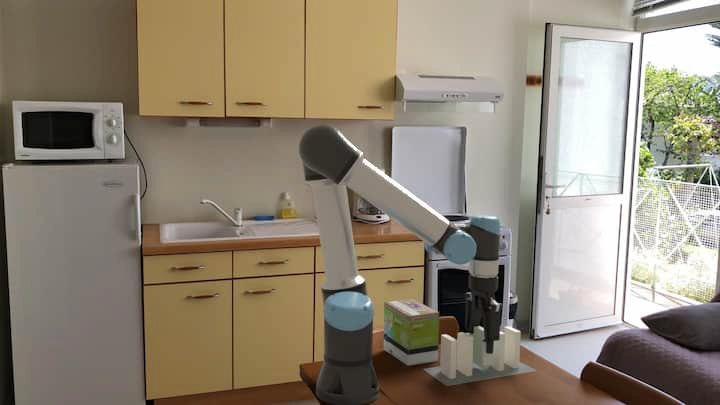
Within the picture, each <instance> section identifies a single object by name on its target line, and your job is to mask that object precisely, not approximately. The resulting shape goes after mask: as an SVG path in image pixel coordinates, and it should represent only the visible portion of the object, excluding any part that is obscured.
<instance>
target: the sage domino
mask: <svg viewBox="0 0 720 405" xmlns="http://www.w3.org/2000/svg"><path fill="white" fill-rule="evenodd" d="M484 339H485V336H484V327H482V326H481V325H480V326H474V342H473V363H474V364H476V365H478V366H479V367H481V368H483V369H487V368H489V365H485V366H483V365H482V345H483V340H484Z"/></svg>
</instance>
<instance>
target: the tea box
mask: <svg viewBox="0 0 720 405" xmlns="http://www.w3.org/2000/svg"><path fill="white" fill-rule="evenodd" d="M383 304H384V305H383V351H385V352H387V353H388V354H390V355H392V356H393V357H394V358H396V359H397V360H399V361H400V362H402V363H403V364H405V365H406V366H413V365H419V364H426V363H427V364H428V363H433V362H438V361H439V332H440V329H439V328H440V311H438V310H435V309H433V308H431V307H429V306H427V305H425V304H423V303H421V302H420V301H418V300H416V299H414V298H411V299H410V298H409V299H402V300H393V301H385V302H384V303H383Z"/></svg>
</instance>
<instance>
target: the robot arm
mask: <svg viewBox="0 0 720 405" xmlns="http://www.w3.org/2000/svg"><path fill="white" fill-rule="evenodd" d="M298 143H299V144H298V154H299V157H300V160H301V161H302V162H301V163H302V167H303V174H304V181H305V183H306V184H308V185H309V186H310V187H311V189H312V194H313V201H314V208H315V215H316V221H317V222H316V224H317V229H318V236H319V242H320V250H321V256H322V262H323V270H324V275H325V278H324V281H322V283H321V284H320V289H321V294H322V295H321V296H322V302H323V304H322V305H323V318H324V319H323V321H324V322H323V324H324V325H323V363H322V366H321V368H320V371H319V374H318V377H317V380H316V385H315V394H316V397H317V398H318V399H319V400H320V401H322V402H324V403H326V404H330V405H366V404H370V403H372V402H374V401H375V400H377V398H378V397H379V394H380V383H379V379H378V377H377V374H376V370H375V367H374V364H373V347H374V346H373V342H374V340H373V335H374V334H373V333H374V332H373V331H374V316H375V311H374V310H375V309H374V302H373V301H372V299H371V298H370V297H369V296H368V290H367V284H366V278H365V277H363V276H362V275H361V274H360V273H359V269H358V262H357V261H358V260H357V255H356V249H355V242H354V234H353V227H352V218H351V212H350V205H349V197H348V190H347V188H348V189H350V190H352V191H353V192H354V193H356V194H357V195H359V196H360V197H361V198H363V199H364V200H366V201H367V202H368V203H370V204H371V205H373V206H374V207H375V208H376V209H378V210H379V211H381V212H382V213H383V214H385V215H386V216H388V217H389V218H391V219H392V220H393V221H395V222H396V223H398V224H399V225H401V226H402V227H403V228H405V229H406V230H408V231H409V232H410V233H411V234H413V235H414V236H416V237H418V238H419V239H420V240H421V241H423V245H424V249H425V251H426V252H427V253H428V252H429V253H435V254H437V253H439V254H441V255H442V256H444V257H445V259H446V260H448V262H450V263H452V264H454V265H466V264H468V263H469V264H468V273H469V276H468V289H470V290H471V292H465V293H464V300H465V309H464V310H465V312H464V314H465V316H464V329H465V330H468V333H469V336H471V337H473V342H474V326H481V325H480V324H481V320H482V326H483V328H484V336H485V339H484V340H483V345H482V365H483V366H485V365H492V354H493V347H494V341H498V340H500V331H501V312H502V309H503V304H502V303H500V302H499V303H498V302H497V301H496V297H495V292H496V291H498V288H499V276H498V274H499V264H500V263H499V259H500V258H499V257H500V240H501V225H500V224H501V222H500V219H499V217H497V216H493V215H485V214H478V215H477V214H475V215H472V216H471V217H470V220H469V222H467V223H454V222H451V221H450V220H449V219H447V218H446V217H445V216H444V215H442V214H440V212H438V211H437V210H435V209H433V207H431V206H429V205H428V204H427V203H425V201H423V200H422V199H420V198H418V197H417V196H416V195H414V194H413V193H412V192H410V191H409V190H408V189H406V188H405V187H404V186H403V185H400V183H398V182H397V181H396V180H394V179H392V178H391V177H390V176H388V175H387V174H386V173H385V172H383V171H382V170H380V169H378V167H376V166H375V165H373V164H372V163H370V162H369V161H368V160H367V159H365V158H364V152H363V151H361V150H360V149H359V148H358V147H356V146H355V145H354V144H353V143H351V142H350V140H348V139H347V138H346V137H345V135H344V134H343V133H342V131H340V130H339V129H338V128H336V127H335V126H333V125H330V124H329V125H328V124H317V125H314V126H311V127H310V128H309V127H308V129H307V130H306V131H304V133H303V134H302V136H301V137H300V140H299V142H298Z"/></svg>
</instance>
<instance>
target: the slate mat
mask: <svg viewBox="0 0 720 405" xmlns="http://www.w3.org/2000/svg"><path fill="white" fill-rule="evenodd" d="M422 370H423V371H424V372H426V373H428V374H429V375H431V377H433V378H434V379H436V380H437V381H438V382H440V383H442V384H443V385H445V386H446V387H449V386H455V385H461V384H467V383H474V382H481V381H485V380H486V381H487V380H491V379H498V378H503V377H509V376H515V375H522V374H529V373H534V372H537V371H538V370H537V369H535V368H533V367H531V366H529V365H527V364H525V363H523V362H521V361H520V360H519V368H515V369H514V368H512V367H510V366H509V365H507V364H505V363H504V370H503V371H498V370H496V369H494V368H493V367H491V366H489V368H487V369H483V368H481V367H479V366H478V365H476V364H474V363H473V364H472V376H466V375H464V374H463V373H461V372H459V371H458V370H456V378H453V379H449V378H448V377H447V376H445V375H444V374H442V373H441V372H440V365H439V366H432V367H428V368H422Z"/></svg>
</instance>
